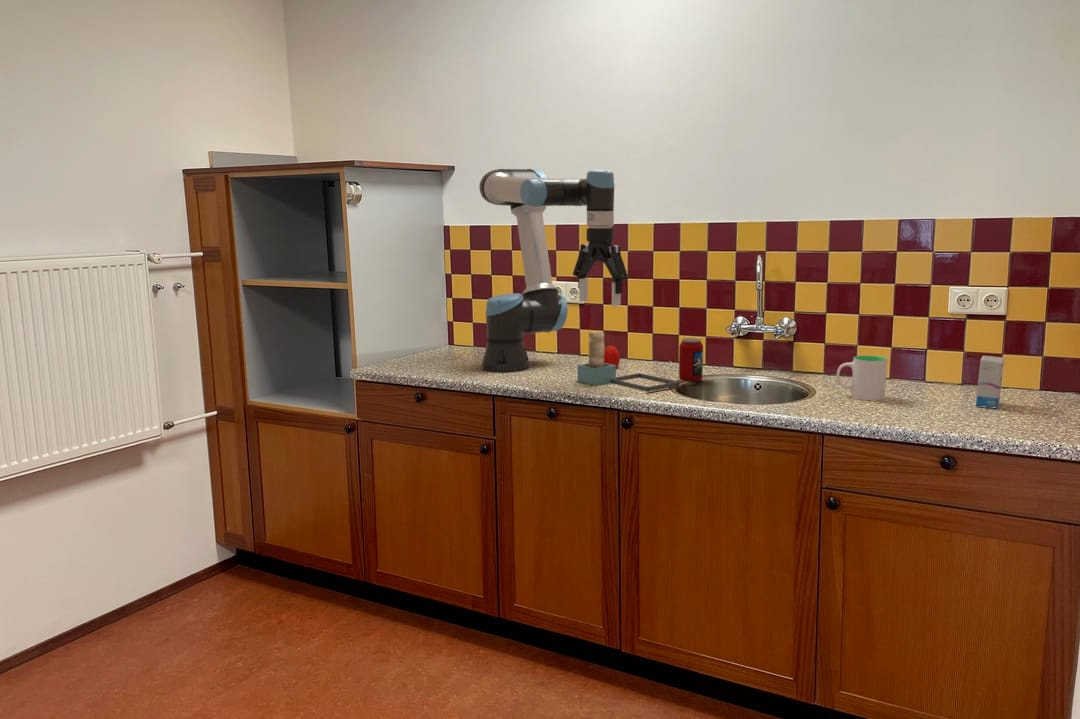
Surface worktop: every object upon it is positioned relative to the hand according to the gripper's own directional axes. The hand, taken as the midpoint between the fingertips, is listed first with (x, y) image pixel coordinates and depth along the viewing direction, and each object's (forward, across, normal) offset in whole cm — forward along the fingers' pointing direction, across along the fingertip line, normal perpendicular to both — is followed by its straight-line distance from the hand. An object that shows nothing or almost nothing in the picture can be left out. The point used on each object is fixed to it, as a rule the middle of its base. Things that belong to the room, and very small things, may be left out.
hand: (599, 303), depth 228 cm
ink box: (+22, +84, +54) cm, 102 cm away
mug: (+23, +58, +39) cm, 74 cm away
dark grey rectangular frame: (+23, +11, +7) cm, 27 cm away
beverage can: (+23, +15, +23) cm, 36 cm away
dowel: (+22, 0, -1) cm, 23 cm away
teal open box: (+23, 0, -1) cm, 23 cm away
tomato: (+24, -15, +16) cm, 32 cm away
